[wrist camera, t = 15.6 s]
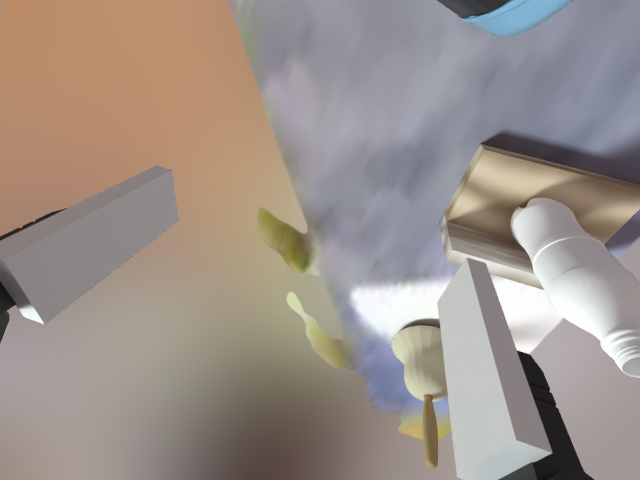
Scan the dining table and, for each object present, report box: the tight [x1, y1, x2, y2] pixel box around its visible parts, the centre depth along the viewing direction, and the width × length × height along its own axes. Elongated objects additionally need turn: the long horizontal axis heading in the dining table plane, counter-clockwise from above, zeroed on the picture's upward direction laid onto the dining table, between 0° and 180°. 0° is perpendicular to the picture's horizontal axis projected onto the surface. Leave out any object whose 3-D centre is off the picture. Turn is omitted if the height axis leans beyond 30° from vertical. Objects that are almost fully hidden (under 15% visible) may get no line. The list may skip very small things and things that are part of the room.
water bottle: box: [510, 198, 640, 378], centre depth 32 cm, size 7×7×25 cm
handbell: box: [391, 325, 448, 468], centre depth 57 cm, size 15×15×25 cm
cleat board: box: [439, 144, 640, 290], centre depth 40 cm, size 14×22×11 cm, turn 80°
